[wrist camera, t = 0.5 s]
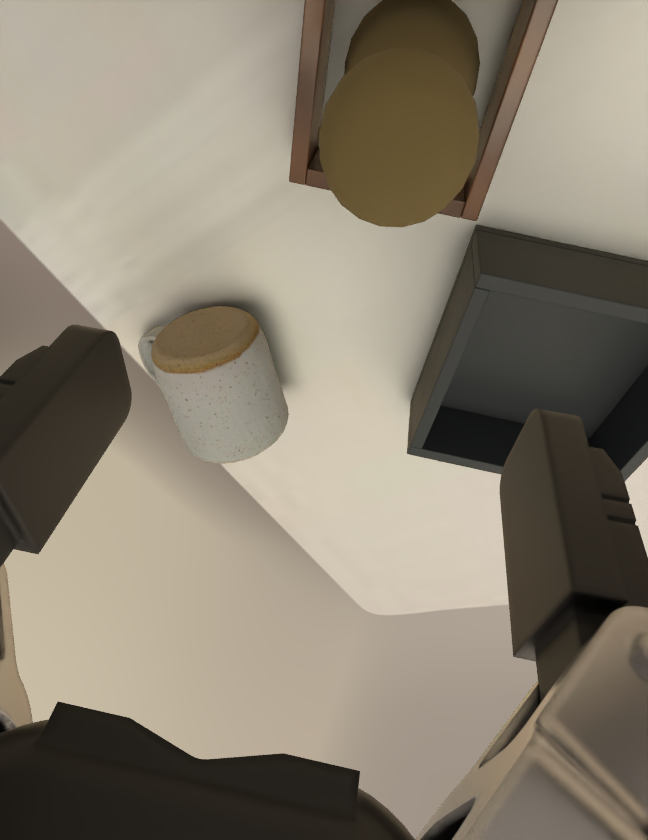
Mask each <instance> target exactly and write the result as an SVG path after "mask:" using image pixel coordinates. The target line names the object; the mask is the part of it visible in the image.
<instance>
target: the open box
mask: <svg viewBox="0 0 648 840" xmlns="http://www.w3.org/2000/svg"><path fill="white" fill-rule="evenodd" d="M536 408H538V409H543V410H549V411H554V412H560V413H566V414H571V415H577V416H579V417H580V418H581V420H582V423H583V426H584V430H585V434H586V438H587V442H588V446H589V447H594V448H600V449H603V450H604V451H605V452H606V453H607V455H608V456H609V457H610V459H611V460H612V461H613V463H614V464H615V465H616V466H617V468H618V469H619V470H620V472H621V473H622V476H623V479H624V482H625V481H626V479H627V478H628V477H629V476H630V475H631V474H632V473H633V472H634V471H635V470H636V469H637V468H638V467H639V466H640V465H641V464H642V463H643V462H644V461H645V460H646V459H647V458H648V261H643V260H639V259H634V258H629V257H624V256H620V255H615V254H610V253H606V252H601V251H596V250H591V249H587V248H582V247H577V246H573V245H568V244H563V243H558V242H554V241H549V240H544V239H540V238H535V237H530V236H525V235H521V234H516V233H511V232H507V231H502V230H497V229H493V228H488V227H483V226H478V225H476V227H475V230H474V232H473V235H472V238H471V240H470V243H469V246H468V248H467V251H466V254H465V256H464V259H463V262H462V265H461V267H460V270H459V273H458V275H457V278H456V281H455V283H454V286H453V289H452V291H451V294H450V297H449V300H448V302H447V305H446V308H445V310H444V313H443V316H442V318H441V321H440V324H439V326H438V329H437V332H436V335H435V337H434V340H433V343H432V345H431V348H430V351H429V353H428V356H427V359H426V361H425V364H424V367H423V370H422V372H421V375H420V378H419V380H418V383H417V386H416V388H415V391H414V394H413V396H412V399H411V404H410V418H409V432H408V447H407V454H410V455H415V456H419V457H424V458H428V459H433V460H438V461H442V462H447V463H451V464H456V465H461V466H465V467H470V468H474V469H479V470H483V471H488V472H493V473H497V474H502V470H503V467H504V464H505V462H506V459H507V457H508V456H509V454H510V452H511V450H512V448H513V446H514V444H515V442H516V440H517V438H518V436H519V434H520V432H521V430H522V428H523V426H524V424H525V422H526V420H527V418H528V416H529V415H530V413H531V412H532V411H533V410H534V409H536Z"/></svg>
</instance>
